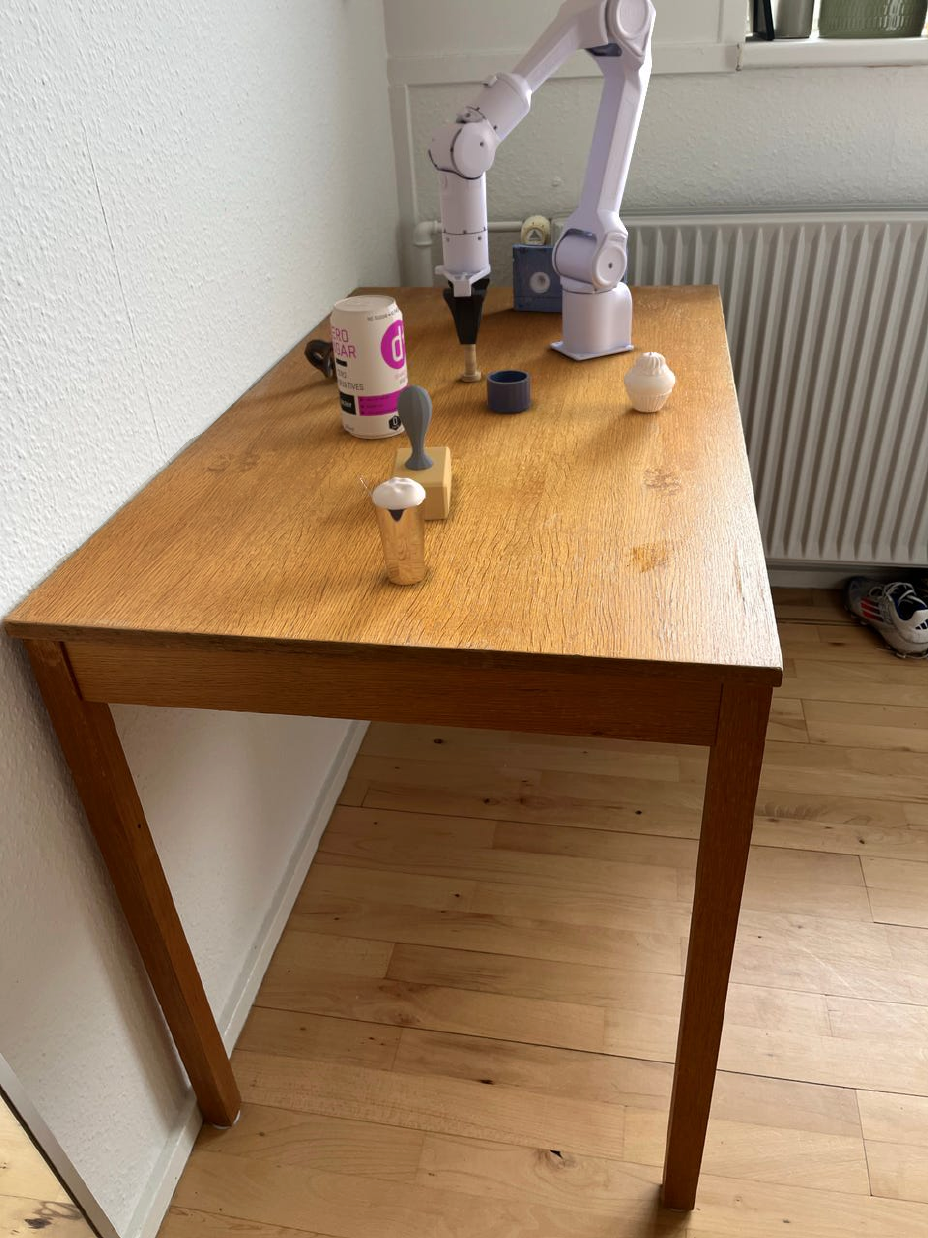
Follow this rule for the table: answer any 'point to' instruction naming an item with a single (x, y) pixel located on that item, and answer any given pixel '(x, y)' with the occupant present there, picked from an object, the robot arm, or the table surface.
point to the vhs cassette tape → (538, 279)
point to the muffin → (649, 382)
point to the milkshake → (401, 528)
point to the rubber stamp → (423, 453)
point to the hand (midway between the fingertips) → (469, 338)
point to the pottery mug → (326, 353)
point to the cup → (508, 391)
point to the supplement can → (369, 364)
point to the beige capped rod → (470, 365)
